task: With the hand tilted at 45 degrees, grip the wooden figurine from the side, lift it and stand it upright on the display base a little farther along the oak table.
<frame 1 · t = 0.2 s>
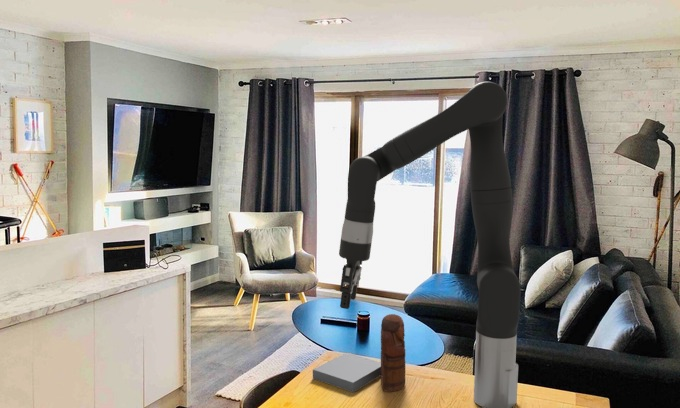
hand: (347, 303, 136), 22 cm above the table, tool pointing down, fingers open, 8 cm apart
display base: (349, 375, 147), on the table
wooden figurine: (392, 383, 142), on the table
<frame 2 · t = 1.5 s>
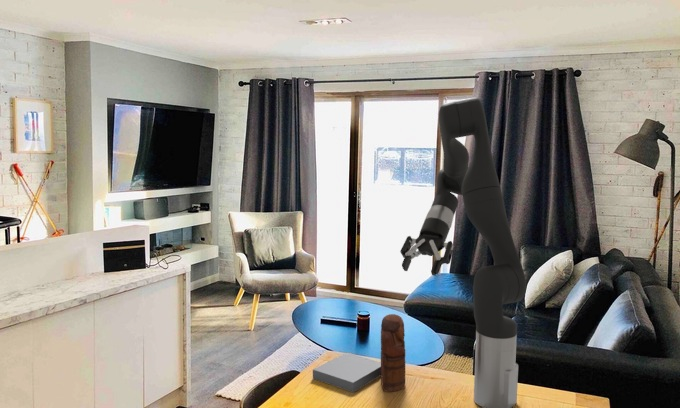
hand: (418, 271, 151), 27 cm above the table, tool tilted 45°, fingers open, 8 cm apart
nothing on the table moved.
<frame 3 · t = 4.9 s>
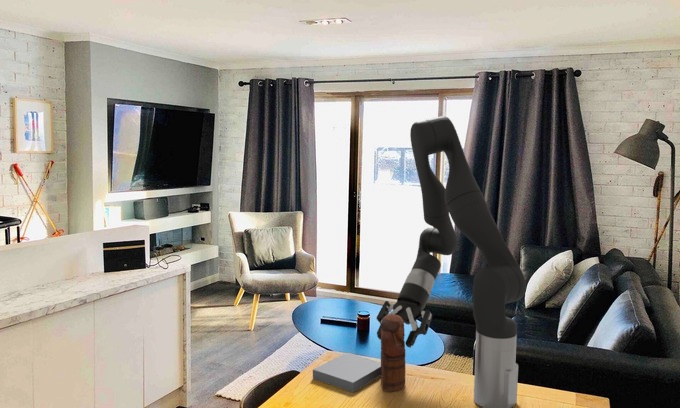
hand: (393, 342, 142), 10 cm above the table, tool tilted 45°, fingers open, 8 cm apart
wooden figurine: (392, 383, 142), on the table, touching gripper
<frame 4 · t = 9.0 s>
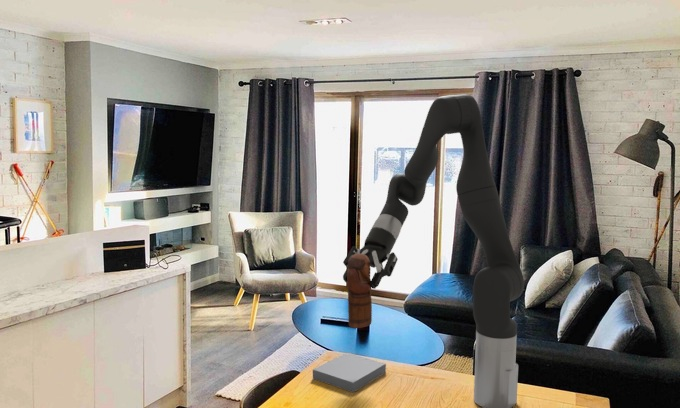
hand: (358, 284, 144), 25 cm above the table, tool tilted 45°, fingers closed on wooden figurine, 8 cm apart
wooden figurine: (359, 322, 145), point 15 cm above the table, touching gripper
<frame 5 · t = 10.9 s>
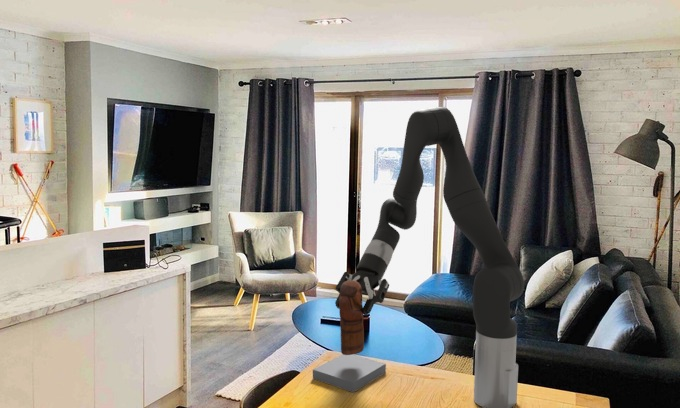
hand: (350, 310, 145), 18 cm above the table, tool tilted 45°, fingers closed on wooden figurine, 8 cm apart
wooden figurine: (351, 348, 146), point 8 cm above the table, touching gripper
when the fingers open (13 cm above the table, at t = 12.7 s): wooden figurine stays where it is, resting on display base.
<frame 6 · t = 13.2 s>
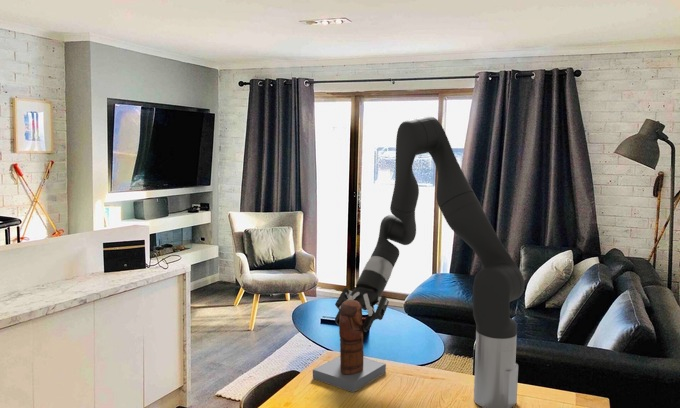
hand: (350, 327, 145), 13 cm above the table, tool tilted 45°, fingers open, 8 cm apart
wooden figurine: (351, 367, 146), point 2 cm above the table, touching display base
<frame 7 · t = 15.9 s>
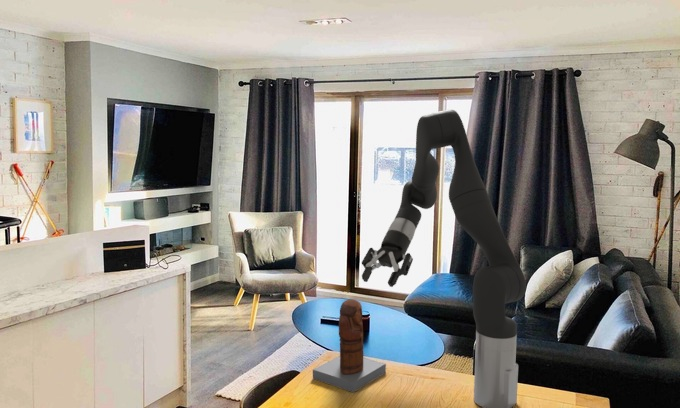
hand: (376, 282, 154), 23 cm above the table, tool tilted 45°, fingers open, 8 cm apart
nothing on the table moved.
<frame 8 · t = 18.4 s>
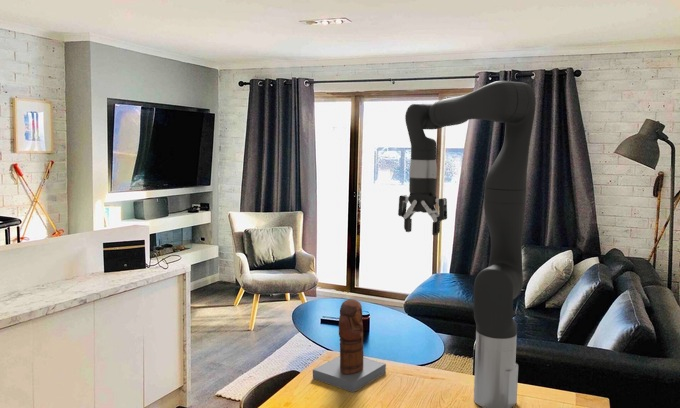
hand: (421, 233, 156), 36 cm above the table, tool pointing down, fingers open, 8 cm apart
nothing on the table moved.
at the end: wooden figurine 0.5 cm off-centre on the display base, point 2.3 cm above the display base's base; wooden figurine tilted 0°; the gripper is holding nothing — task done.
